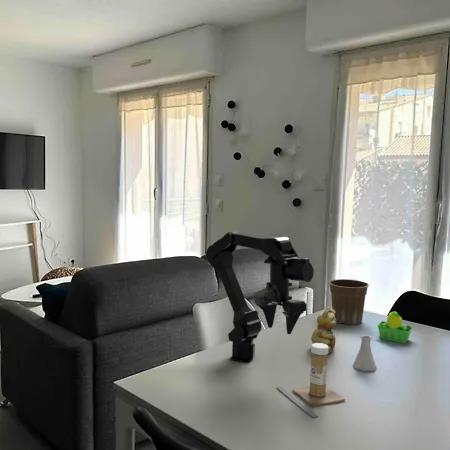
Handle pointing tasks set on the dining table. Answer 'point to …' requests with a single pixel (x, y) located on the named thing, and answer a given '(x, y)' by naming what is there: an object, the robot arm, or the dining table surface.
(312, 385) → the sprinkles bottle
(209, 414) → the dining table surface
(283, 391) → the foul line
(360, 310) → the plant pot
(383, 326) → the fruit basket
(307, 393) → the board
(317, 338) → the decorative figurine
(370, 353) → the flask
